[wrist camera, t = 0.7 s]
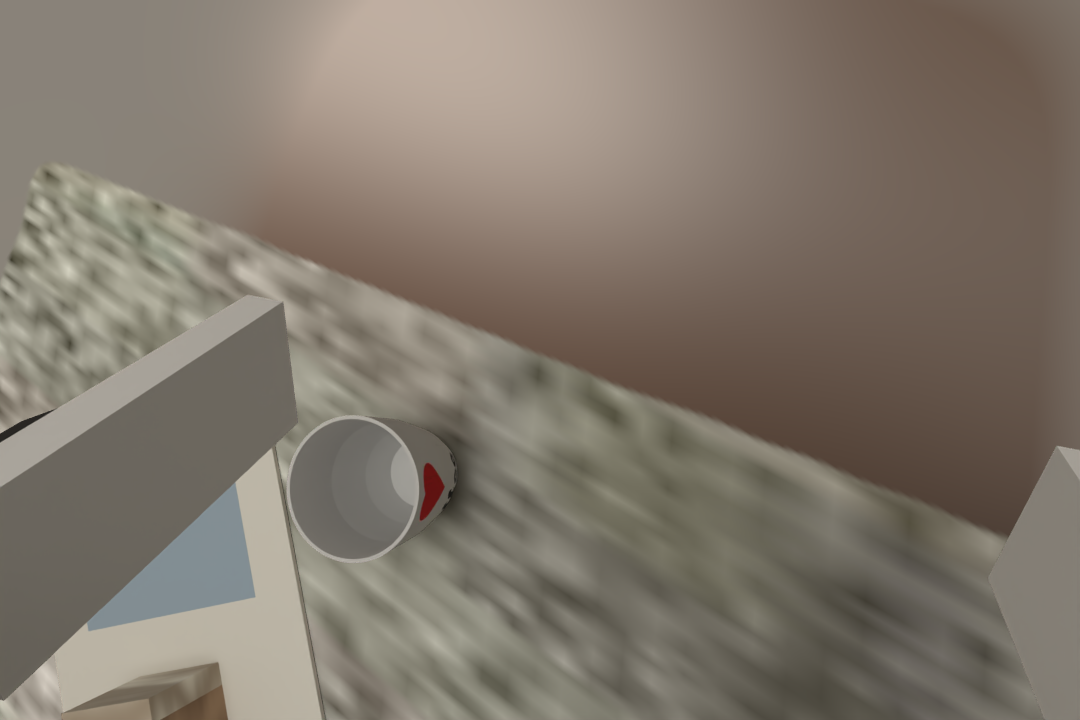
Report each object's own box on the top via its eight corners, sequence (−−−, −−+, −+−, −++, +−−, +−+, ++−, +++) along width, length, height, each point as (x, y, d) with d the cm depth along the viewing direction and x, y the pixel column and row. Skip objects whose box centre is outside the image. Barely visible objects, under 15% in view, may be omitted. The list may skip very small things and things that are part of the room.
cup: (435, 555, 48) (365, 593, 38) (348, 484, 50) (261, 503, 40) (500, 459, 47) (446, 473, 37) (410, 390, 49) (337, 386, 39)
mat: (349, 850, 48) (346, 854, 47) (91, 878, 52) (86, 882, 52) (270, 423, 51) (267, 423, 51) (35, 486, 56) (30, 486, 56)
